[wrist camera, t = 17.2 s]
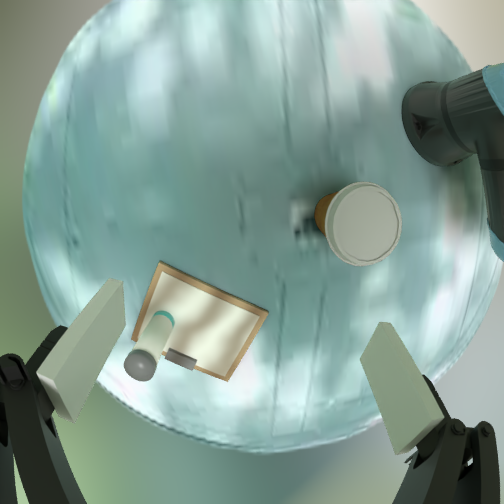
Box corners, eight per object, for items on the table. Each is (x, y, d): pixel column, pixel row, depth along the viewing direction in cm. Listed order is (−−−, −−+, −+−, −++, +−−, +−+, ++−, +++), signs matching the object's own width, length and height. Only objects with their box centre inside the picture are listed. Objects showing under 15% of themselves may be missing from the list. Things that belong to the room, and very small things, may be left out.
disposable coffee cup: (358, 249, 41) (397, 271, 29) (299, 243, 40) (322, 266, 29) (366, 187, 39) (409, 189, 27) (306, 178, 38) (333, 174, 27)
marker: (178, 316, 41) (157, 365, 29) (170, 335, 42) (149, 385, 29) (156, 305, 41) (127, 350, 28) (149, 324, 41) (121, 372, 29)
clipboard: (268, 310, 43) (269, 315, 41) (227, 379, 45) (227, 385, 44) (160, 260, 40) (157, 264, 38) (132, 337, 43) (129, 342, 41)
